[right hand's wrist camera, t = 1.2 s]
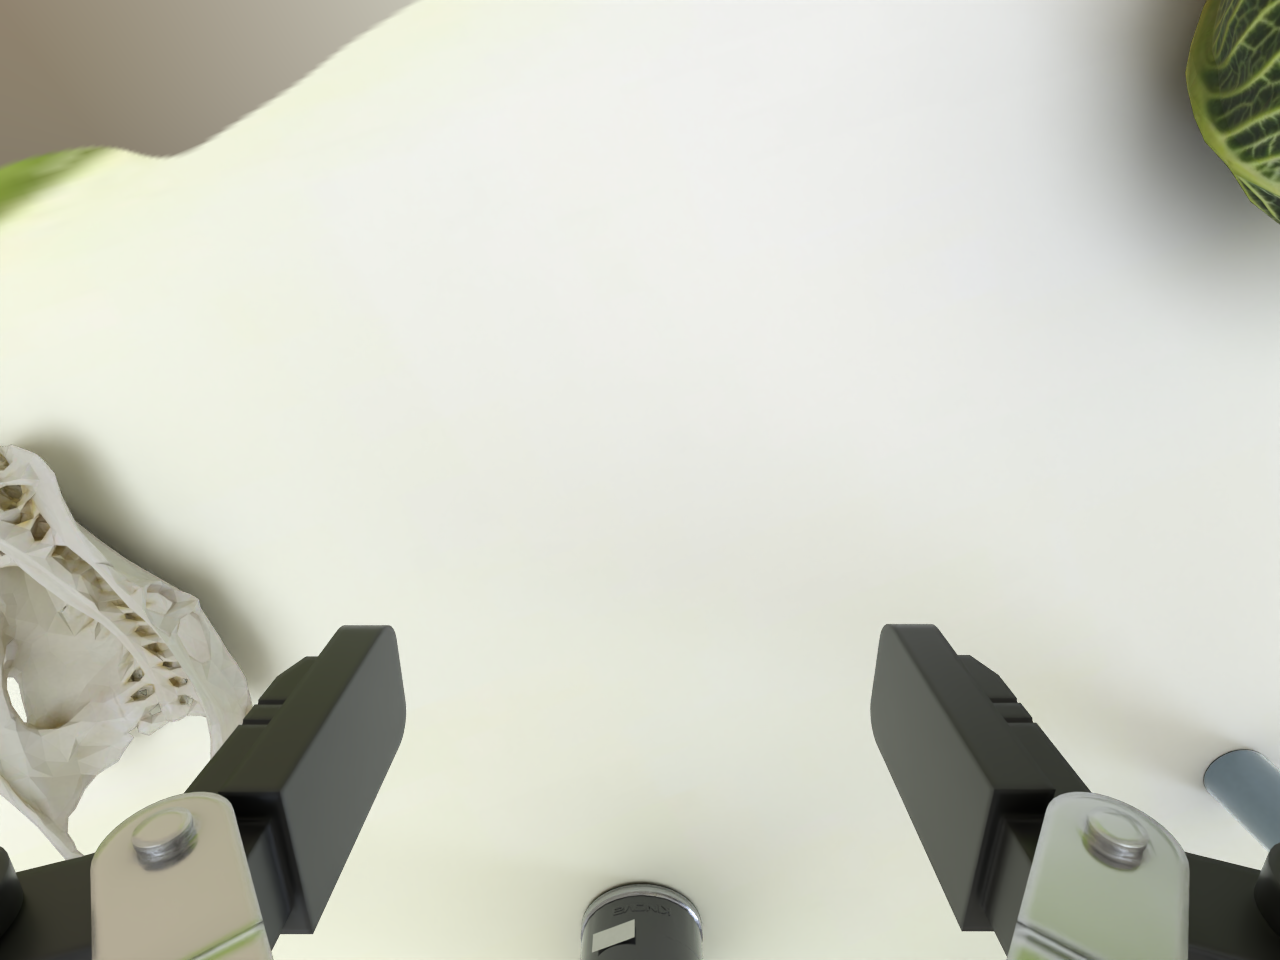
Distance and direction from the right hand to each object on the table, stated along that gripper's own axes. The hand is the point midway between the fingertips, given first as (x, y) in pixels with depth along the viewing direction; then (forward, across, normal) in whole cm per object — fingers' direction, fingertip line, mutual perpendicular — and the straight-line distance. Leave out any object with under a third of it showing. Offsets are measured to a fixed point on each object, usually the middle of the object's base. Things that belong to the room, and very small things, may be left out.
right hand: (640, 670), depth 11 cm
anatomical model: (+29, -33, -17) cm, 47 cm away
